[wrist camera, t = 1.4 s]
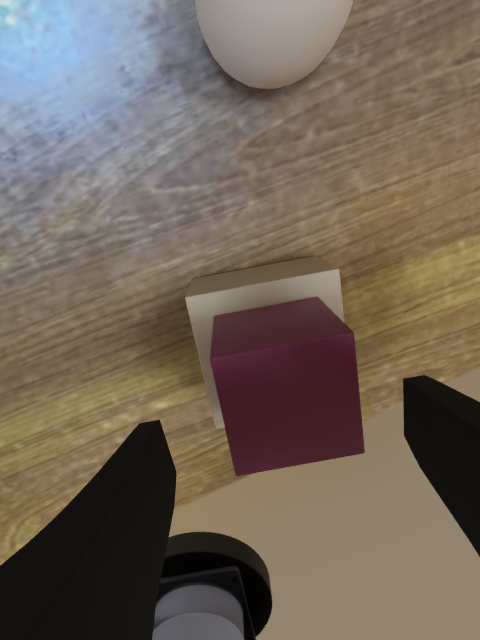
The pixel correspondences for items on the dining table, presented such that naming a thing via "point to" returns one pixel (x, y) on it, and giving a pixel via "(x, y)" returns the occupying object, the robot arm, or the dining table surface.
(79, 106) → the dining table surface
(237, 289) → the base block
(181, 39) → the dining table surface
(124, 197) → the dining table surface
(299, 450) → the mulberry block
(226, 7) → the egg
